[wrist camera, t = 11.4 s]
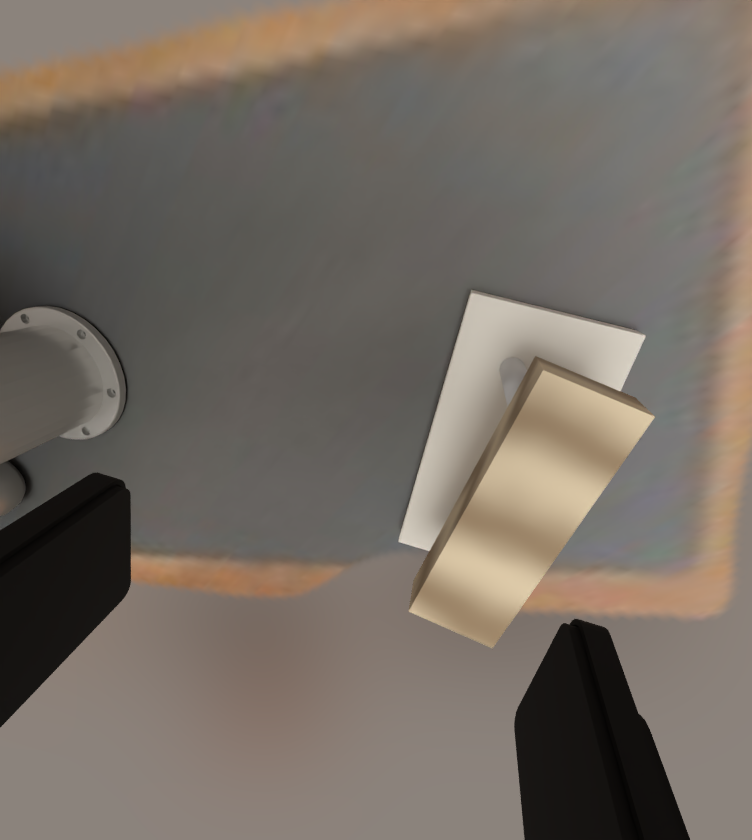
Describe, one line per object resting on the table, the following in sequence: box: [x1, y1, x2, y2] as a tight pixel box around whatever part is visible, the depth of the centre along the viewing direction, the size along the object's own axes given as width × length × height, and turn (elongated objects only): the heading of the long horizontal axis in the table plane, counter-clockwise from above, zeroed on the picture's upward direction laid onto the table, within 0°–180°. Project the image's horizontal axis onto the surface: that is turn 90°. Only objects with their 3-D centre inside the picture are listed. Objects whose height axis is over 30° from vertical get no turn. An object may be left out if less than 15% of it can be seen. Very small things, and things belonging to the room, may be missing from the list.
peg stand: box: [398, 290, 646, 551], centre depth 33 cm, size 12×22×9 cm, turn 167°
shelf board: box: [409, 356, 655, 648], centre depth 28 cm, size 18×6×3 cm, turn 159°
